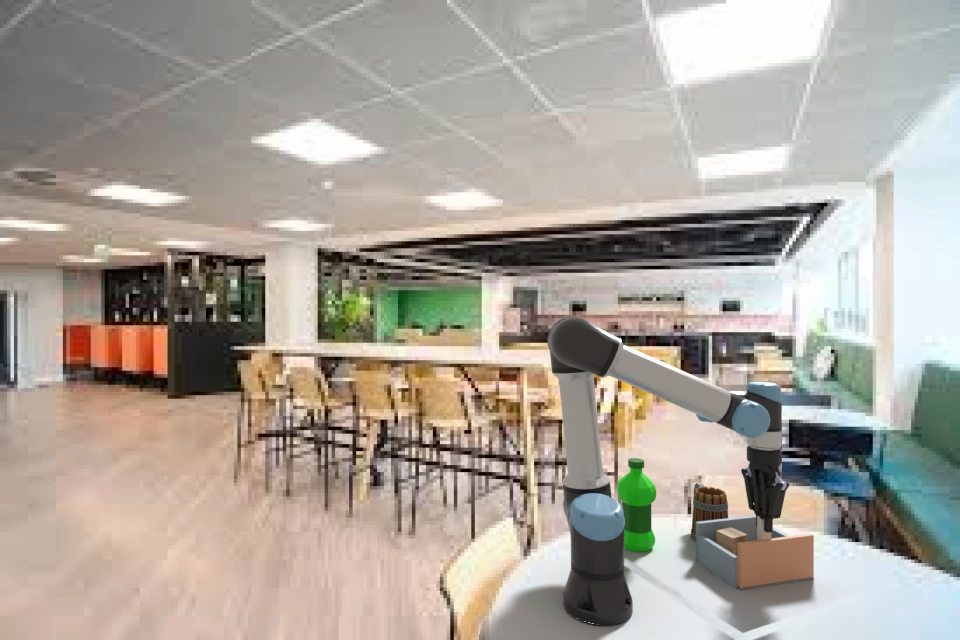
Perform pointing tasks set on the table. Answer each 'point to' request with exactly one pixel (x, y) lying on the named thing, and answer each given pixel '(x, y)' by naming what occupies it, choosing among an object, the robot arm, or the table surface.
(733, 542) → the wooden block
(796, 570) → the panel
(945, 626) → the table surface
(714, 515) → the mug
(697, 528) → the box
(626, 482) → the plastic bottle
